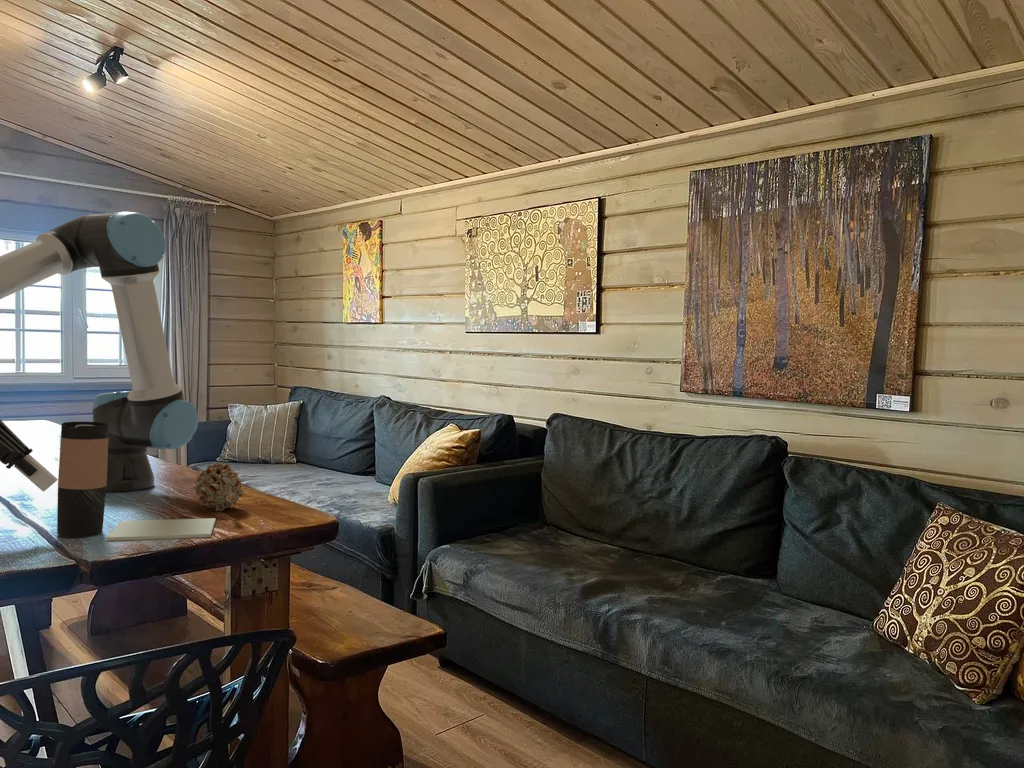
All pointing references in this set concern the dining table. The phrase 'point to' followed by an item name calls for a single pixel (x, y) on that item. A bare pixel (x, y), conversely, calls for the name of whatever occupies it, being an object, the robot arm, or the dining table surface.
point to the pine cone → (218, 486)
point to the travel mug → (82, 478)
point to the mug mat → (162, 529)
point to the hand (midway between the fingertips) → (50, 485)
